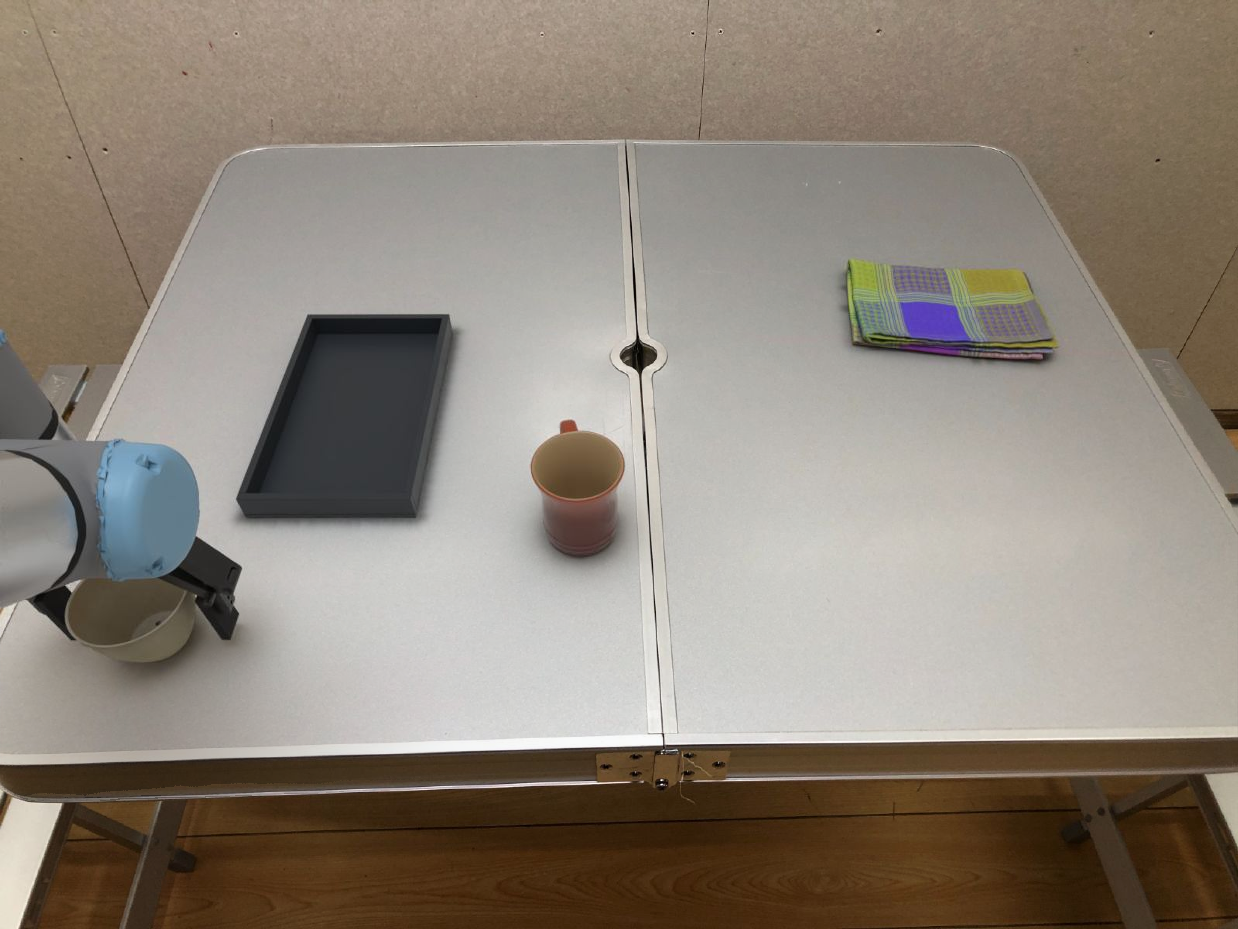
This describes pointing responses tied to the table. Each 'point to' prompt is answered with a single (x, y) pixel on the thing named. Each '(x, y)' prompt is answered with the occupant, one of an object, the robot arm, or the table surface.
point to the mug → (578, 488)
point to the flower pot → (131, 617)
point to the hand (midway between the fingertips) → (156, 627)
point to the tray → (351, 419)
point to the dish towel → (947, 311)
